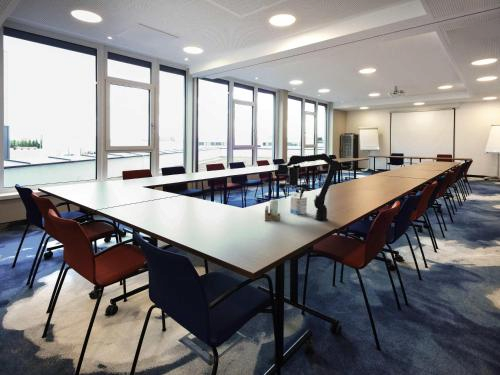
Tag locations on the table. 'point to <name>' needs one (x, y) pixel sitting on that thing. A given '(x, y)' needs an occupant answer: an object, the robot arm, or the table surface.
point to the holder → (268, 217)
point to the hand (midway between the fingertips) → (293, 199)
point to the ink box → (298, 204)
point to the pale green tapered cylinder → (273, 207)
